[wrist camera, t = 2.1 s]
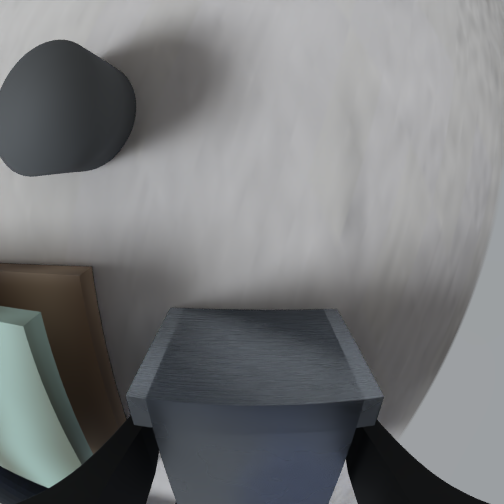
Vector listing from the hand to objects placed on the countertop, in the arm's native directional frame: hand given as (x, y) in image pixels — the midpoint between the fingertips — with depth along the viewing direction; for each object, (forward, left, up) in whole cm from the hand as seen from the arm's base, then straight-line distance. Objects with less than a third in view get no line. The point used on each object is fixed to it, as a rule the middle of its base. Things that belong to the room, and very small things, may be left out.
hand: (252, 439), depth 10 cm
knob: (+6, -11, -3) cm, 13 cm away
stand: (+12, 0, -3) cm, 12 cm away
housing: (0, 0, -3) cm, 3 cm away
